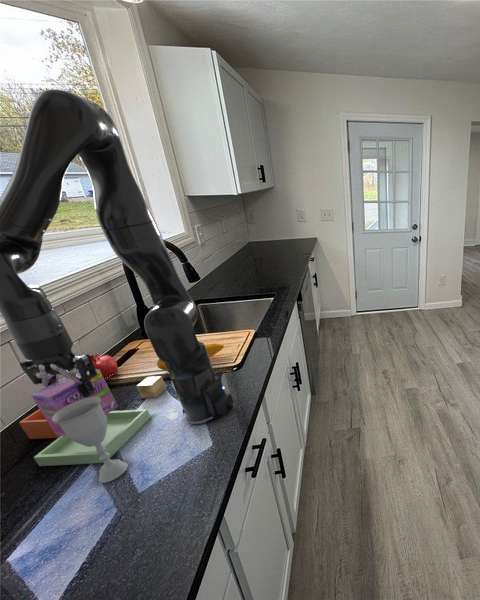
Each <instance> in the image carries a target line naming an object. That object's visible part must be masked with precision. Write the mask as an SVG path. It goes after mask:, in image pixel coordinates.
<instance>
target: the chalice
mask: <svg viewBox="0 0 480 600" xmlns="http://www.w3.org/2000/svg"><path fill="white" fill-rule="evenodd" d="M100 403H101V398H99V397H90V398H85V399H82V400H79V401H76V402H74V403H72V404H70V405H68V406H66V407H64V408H62V409H61V410H59V411H58V412H57V413H56V414H54V416H53V417H52V421H55V422H57V423H59V424H60V426H61V428H62V429H63V431H64V432H65V434H66V436H67V437H68V438H69V439H71V440H73V441H75V442H77V443H79V444H82V445H84V446H87V447H93V446H95V447H96V453H98V454H100V458H99V460H103V461H104V463H103V464H102V465H101V467H100V468H99V472H98V482H99V483H103V484H105V483H109V482H111V481H115V480H116V479H117V478H119V477H121V476H122V475H123V474H124V473H126V471H127V470H128V467H129V464H128V463H127V462H124V461H123V460H121V459H118V458H117V459H116V458H114V459H111V458H110V459H109V455H110V453H106V452H105V449H106V447H103V446H102V445H101V442H102V441H103V440H104V439H105V435H106V430H107V417H106V415H105V413H104V411H103V410H102V408H101V406H100Z"/></svg>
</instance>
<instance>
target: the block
mask: <svg viewBox="0 0 480 600" xmlns="http://www.w3.org/2000/svg"><path fill="white" fill-rule="evenodd" d="M136 389H137V391H138V393H139V395H140V398H141V399H149V398H150V399H153V398H158V396H160V395H161V394H162V393H163V392H164V391H165V390H166V389H167V386H166V383H165V381H164V378H163V376H162V375H157V376H147V377H145V378H144V379H143V380H141V382H140V383H138V384H136Z"/></svg>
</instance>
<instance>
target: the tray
mask: <svg viewBox="0 0 480 600" xmlns="http://www.w3.org/2000/svg"><path fill="white" fill-rule="evenodd" d="M106 417H107V430H106V435H105V439H104V440H103V441H102V442H101V445H102V446H103V447H106V449H105V452H106V453H110V455H109V459H110V460H111V458H112V457H113V456H114V455H115V454H116V453H117V452H118V451H119V450H120V449H121V448H122V447H123V446H124V445H125V444H126V443H127V442H128V441H130V439H131V438H132V437H133V436H134V435H135V434H136V433H137V432H138V431H139V430H140V429H141V428H142V427H143V426H144V425H145V424H146V423H147V422H148V421H150V419H151V418H152V416H151V413H150V412H149V410H148V409H147V408H143V409H125V410H112V411H111V412H110V413H108V414H107V415H106ZM99 458H100V454H98V453H96V447H95V446H93V447H87V446H84V445H82V444H79V443H77V442H75V441H73V440H71V439H69V438H68V437H66V436H60V437H59V438H55V440H53V441H52V442H51V443H50V444H49V445H47V446H46V447H45V448H44V449H42V450H41V451H39V452H38V453H37V454H36V455H34V456H33V459H34V460H35V462H36V464H37V466H38V467H50V466H51V467H52V466H69V465H71V466H72V465H86V464H90V465H91V464H104V461H103V460H99Z"/></svg>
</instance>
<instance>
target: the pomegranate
mask: <svg viewBox="0 0 480 600" xmlns="http://www.w3.org/2000/svg"><path fill="white" fill-rule="evenodd" d="M101 354H102V352H101V353H96V354H94V353H90V354H89V355H90V356H91V359H92V362H93V364H94V367H95V369H98V370H100V372H101V374H102V376H103V378H104V380H105V381H108V380H109V379H110V378H112V377H114V376H115V375H117V373H118V372H117V371H119V367H118V363H117V360H116V359H115V358H114V357H112V356H110V353H109V354H102V355H101ZM99 355H101V356H99ZM116 372H117V373H116ZM112 374H113V375H112ZM110 375H111V376H110ZM109 376H110V377H109ZM107 377H108V378H107ZM105 378H106V379H105Z"/></svg>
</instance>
